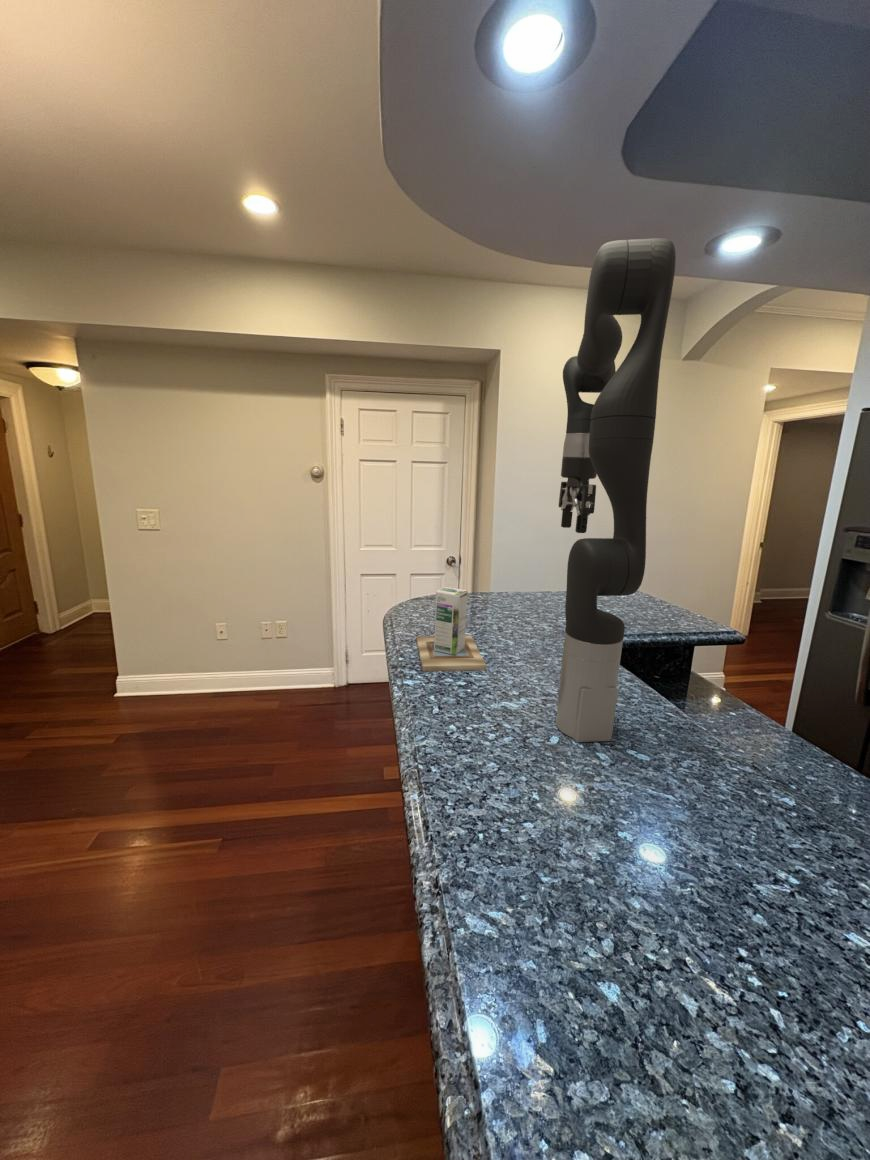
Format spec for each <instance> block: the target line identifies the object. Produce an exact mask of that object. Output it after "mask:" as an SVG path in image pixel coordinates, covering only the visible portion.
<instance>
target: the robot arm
mask: <svg viewBox="0 0 870 1160" xmlns="http://www.w3.org/2000/svg"><path fill="white" fill-rule="evenodd" d="M676 259H677V258H676V248H675V244H674V243H673V241H672V240H671V239H669V238H658V237H657V238H656V237H655V238H654V237H653V238H639V239H638V238H637V239H636V238H635V239H619V240H611V241H608V242H605V243H604V244H602V245H601V246H600V248H599V249H598V251H597V252H596V254H595V257H594V259H593V263H592V266H591V270H590V274H589V275H590V276H589V281H588V289H587V294H586V295H587V296H586V305H585V311H584V312H585V314H584V327H583V333H582V334H583V335H582V339H581V342H580V345H579V347H578V348H579V349H578V352H577V355H575V356H572V357H570V358H568V359H567V360H566V362H565V364H564V367H563V369H562V380H563V381H562V382H563V386H564V387H563V388H564V391H565V397H566V403H567V405H566V406H567V421H566V430H565V431H566V432H565V433H566V434H565V438H564V442H563V448H562V449H563V452H562V461H561V469H560V470H561V471H560V476H561V478H565V479H567V480H566V481H561V482H560V491H559V497H558V499H559V500H558V508H560V510H561V511H562V512H561V522H560V523H561V524H560V527H561V528H567V529H569V528H572V521H573V510H574V508H575V509H576V514H577V515H576V520H575V521H576V522H575V529H574V530H575V533H578V534H586V532H587V530H588V529H587V527H588V519H589V516H590V515H591V514H594V513H595V506H596V493H597V485H596V484H590V480H591V479H592V480H593V479H596V478H597V477H598V479H599V481H600V483H601V485H602V486H603V489H604V491H605V492H606V495H607V496H608V497H607V498H608V499H609V502H610V505H611V508H612V515H613V534H612V535H613V537H612V538H611V537H610V538H608V537H607V538H602V537H601V538H597V537H595V538H594V537H590V538H588V537H587V538H585V537H584V538H579V539H577V540H576V541H575V542H573V544H572V546H571V548H570V551H569V555H568V558H567V559H568V560H567V571H566V593H565V611H564V612H565V628H564V630H565V631H564V638H563V647H562V655H561V656H562V657H561V658H562V659H561V667H560V677H559V686H558V694H557V695H558V698H557V707H556V719H555V725H556V727H557V729H558V730H559V731H561V733H563V734H564V735H566V736H567V737H570V738H572V739H573V740H574V741H575V742H576V743H587V742H611V741H612V739H613V730H614V724H615V716H616V709H617V702H618V695H619V694H618V693H619V689H618V686H617V685H618V679H619V672H620V666H621V665H620V664H621V656H622V650H623V645H624V644H623V643H624V637H625V629H626V627H625V622H624V621H623V620H622V619H621V618H620V617H618V616H616V615H615V614H613V613H610V612H607V611H604V610H602V609H599V608H598V597H612V596H613V597H617V596H618V597H619V596H620V597H622V596H625V597H626V596H630V595H633V594H635V593H636V592H637V591H638V590H639V589H640V587H641V586H642V583H643V579H644V575H645V570H646V561H647V560H646V558H647V555H646V554H647V503H648V489H649V477H650V469H651V462H652V461H651V460H652V453H653V447H654V439H655V438H654V437H655V429H656V422H657V421H656V419H657V405H658V403H657V402H658V393H659V392H658V391H659V380H660V370H661V359H662V352H663V345H664V341H665V334H666V328H667V321H668V315H669V310H670V303H671V299H672V293H673V286H674V280H675V273H676ZM627 315H628V316H634V315H635V316H637V315H640V325H639V329H638V332H637V335H636V336H635V340H634V342H633V344H632V346H631V348H630V349H629V350H628V353H627V354H626V356H625V358H624V360H623V361H622V363H621V364H620V365H619V367H618V368H617V369H616V361H615V360H616V359H617V356H618V354H619V352H620V350H621V347H622V342H623V332H622V328H621V327H622V326H621V325H620V324H619V321H618V320H617V319H616V317H615V316H627ZM579 393H584V394H585V393H593V394H595V393H596V394H597V393H598V396H597V398H596V399H595V401H594V404H593V403H589V402H586V401H584V400H583V399H582V398H581V396H580V395H579Z"/></svg>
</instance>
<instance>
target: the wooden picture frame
mask: <svg viewBox="0 0 870 1160" xmlns="http://www.w3.org/2000/svg"><path fill="white" fill-rule="evenodd" d="M434 639H435V635H425V636H424V635H421V636H419V635H417V636H416V641H415V642H416V644H417V645H416V646H417V650H418V655H419V660H420V664H421V669H422V672H450V671H451V672H452V671H453V672H456V671H457V672H459V671H462V672H463V671H487V663H486V662H485V659H484V658H483V657H482V654H481V652H480V650H479V647H478V646H477V644H476V642H475V641H474V638H473V637H472V635H465V647H464V648H463V649H462V650H461V651H460V652H459V653H457V654H456V655H452V654H448V653H444V652H439V651H434Z"/></svg>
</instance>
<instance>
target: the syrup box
mask: <svg viewBox="0 0 870 1160" xmlns="http://www.w3.org/2000/svg"><path fill="white" fill-rule="evenodd" d="M467 607H468V589H461V588H454V587H449V586H445V587H441V588H440V589H438V590H436V592H435V607H434V608H435V613H434V614H435V615H434V616H435V617H434V636H435V639H434V651H439V652H444V653H448V654H452V655H456V654H457V653H459V652H460V651H461V650H462V649H463V648H464V647H465V636H466V630H467V629H466V627H467V626H466V625H467Z"/></svg>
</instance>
